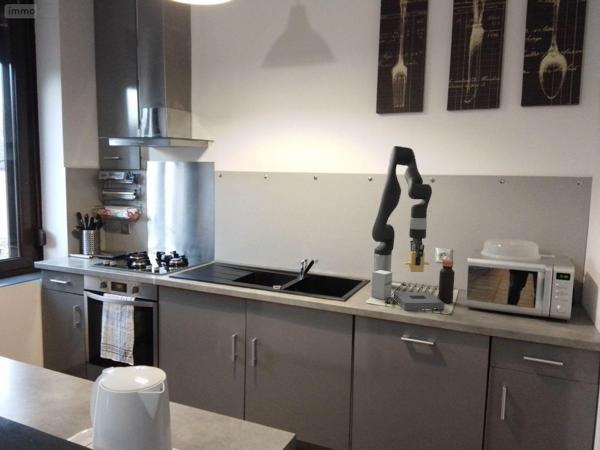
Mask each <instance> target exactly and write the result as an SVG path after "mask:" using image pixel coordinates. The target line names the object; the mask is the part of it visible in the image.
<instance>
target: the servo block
mask: <svg viewBox="0 0 600 450" xmlns="http://www.w3.org/2000/svg"><path fill="white" fill-rule="evenodd" d="M425 253H426V252H423V257H421V262H420V265H419V266H418V265H415V258H416V257H415V254H416V253H415V252H414V251H411V250H409V251H408V261H403V264H404V265H407V267H408V268H407V271H409V272H410V273H424V272H425V271H424V270H425V269H424V268H425V265H430V263H429V262H428V261H425ZM419 254H420V253H419Z"/></svg>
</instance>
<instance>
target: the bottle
mask: <svg viewBox="0 0 600 450" xmlns="http://www.w3.org/2000/svg"><path fill="white" fill-rule="evenodd" d="M441 263H442V264H441V266H442V268H441V269H440V270H439V279H438V280H439V281H438V294H437V298H438V299H440V300H441V301H442V302H444V303H446V304H445V305H450V303H451V304H453V303H454V290H455V289H454V288H455V275H456V274H455V273H456V272H455V270H453V267H454V260H447V259H444V260H442V262H441Z"/></svg>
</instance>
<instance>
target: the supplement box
mask: <svg viewBox="0 0 600 450" xmlns="http://www.w3.org/2000/svg"><path fill="white" fill-rule="evenodd" d="M371 274H372V275H371V276H372V277H371V289H370V290H371V292H370V293H371V296H370V297H371V298H376V299H379V300H385V299H388V298H391V297H392V287H393V284H392V283H393V272H392V271H391V272H388V271H383V270H379V271H375V272H374V271H372V273H371Z"/></svg>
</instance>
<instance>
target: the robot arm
mask: <svg viewBox="0 0 600 450" xmlns="http://www.w3.org/2000/svg"><path fill="white" fill-rule="evenodd" d="M389 155H390V156H389V161H388V168H387V172H386V178H385V183H384V186H383V190H382V194H381V198H380V204H379V208H378V210H377V214H376V218H375V220H374V224H373V227H372V231H371V237H372V239H373V240H374V242H375V243H376V242H377V243H379V244H378V246H376V247H375V248H374V255H373V272H375V271H379V270H383V271H388V272H392V255H393V254H392V252H393V249H394V248H395V247H394V245H395V236H396V235H395V229H394V226H393V225H391V224H388V220H389V218H390V216H391V215H392V214H393V212H394V211H395V209H396V208H397V207H398V205H399V202H400V199H401V195H402V188H401V185H400V182H399V179H398V175H397V166H403V167H404V166H406V167H407V168H406V170H405V172H404V179H405V181H406V184H407V195H408V197H409V198H410V199H411V200H421V201H420V203H417V204H412V205H411V208H410V219H409V233H408V235H409V238H411V239H412V240H410V241H409V242H410V251H414V252H415V253H416V254H415V257H416V258H415V265H418V266H419V265H420V262H421V257H423V252H424V251H425V244H423V239H426V238H427V227H428V226H427V223H428V222H427V217H428V215H427V212H428V206H429V203H430V201H431V197H432V195H433V188H432V186H431V185H430V184H428V183H424V180H423V177H422V175H421V173H420V172H419V169H418V165H417V160H416V155H415V152H414V150H413V149H412V148H411V147H405V146H400V145H395V146H393V147H392V148H391V151H390V154H389ZM419 253H420V254H419ZM424 253H425V252H424Z"/></svg>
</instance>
